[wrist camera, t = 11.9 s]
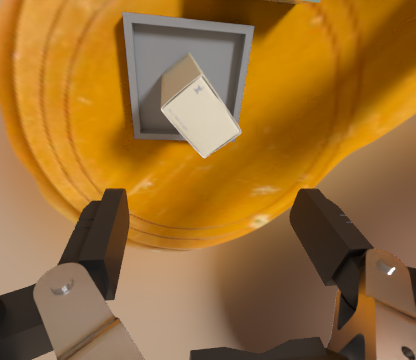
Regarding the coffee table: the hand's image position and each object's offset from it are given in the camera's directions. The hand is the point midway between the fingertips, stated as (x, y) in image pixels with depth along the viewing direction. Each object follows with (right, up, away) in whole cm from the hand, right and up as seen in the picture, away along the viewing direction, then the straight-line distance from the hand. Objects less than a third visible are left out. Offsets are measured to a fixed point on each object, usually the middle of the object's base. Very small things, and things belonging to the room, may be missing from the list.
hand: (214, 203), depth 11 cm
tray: (-3, +13, +19) cm, 23 cm away
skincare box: (-2, +13, +18) cm, 23 cm away
